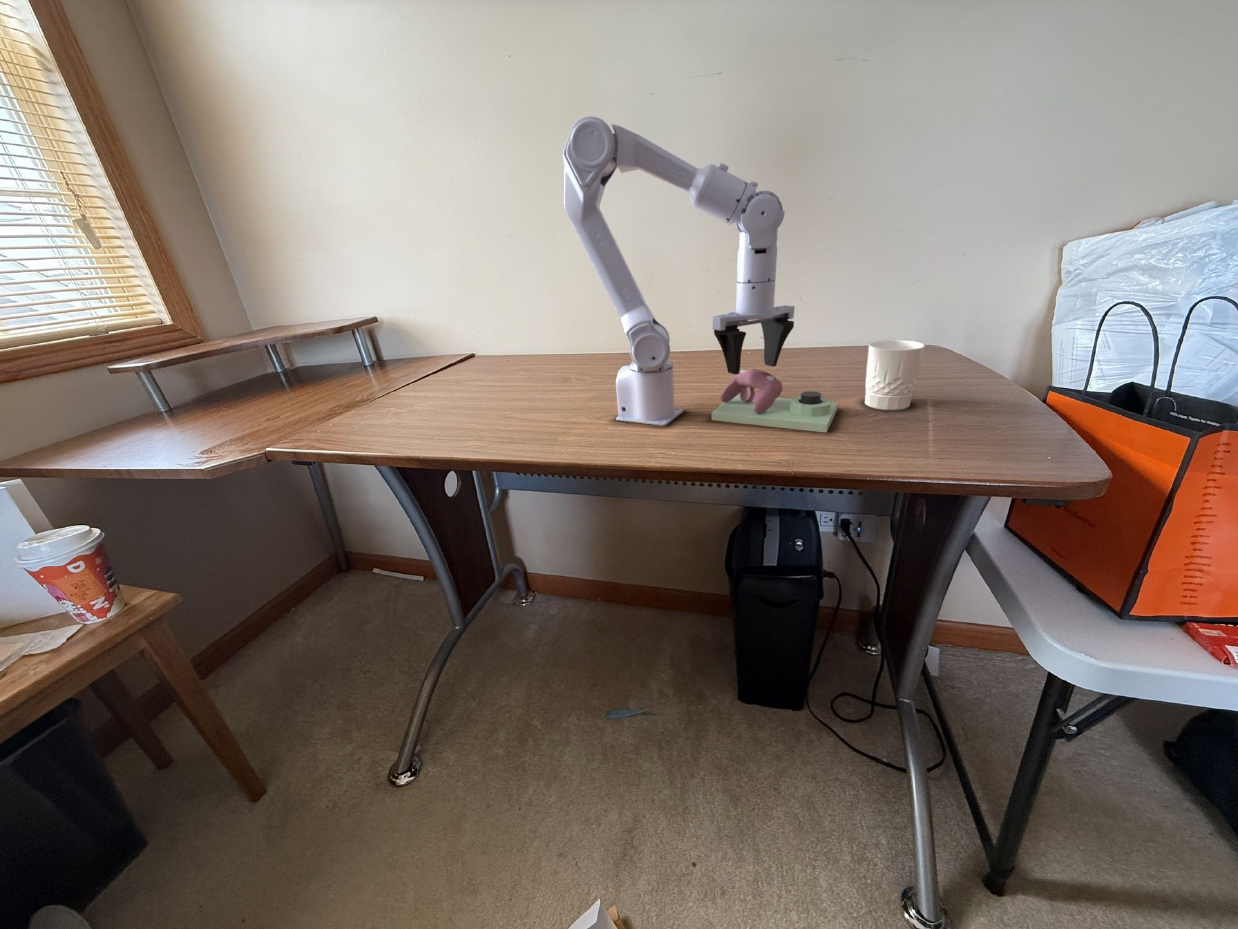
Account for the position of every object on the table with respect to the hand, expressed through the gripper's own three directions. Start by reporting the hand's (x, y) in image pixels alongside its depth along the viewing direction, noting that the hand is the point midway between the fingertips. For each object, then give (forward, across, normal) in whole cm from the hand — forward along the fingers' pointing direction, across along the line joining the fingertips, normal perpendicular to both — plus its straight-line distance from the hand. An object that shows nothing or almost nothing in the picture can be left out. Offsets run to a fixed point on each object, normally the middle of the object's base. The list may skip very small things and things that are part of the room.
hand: (752, 369), depth 79 cm
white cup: (+8, -20, +10) cm, 24 cm away
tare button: (+5, -5, +8) cm, 11 cm away
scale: (+8, -2, +3) cm, 9 cm away
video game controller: (+6, 0, 0) cm, 6 cm away
